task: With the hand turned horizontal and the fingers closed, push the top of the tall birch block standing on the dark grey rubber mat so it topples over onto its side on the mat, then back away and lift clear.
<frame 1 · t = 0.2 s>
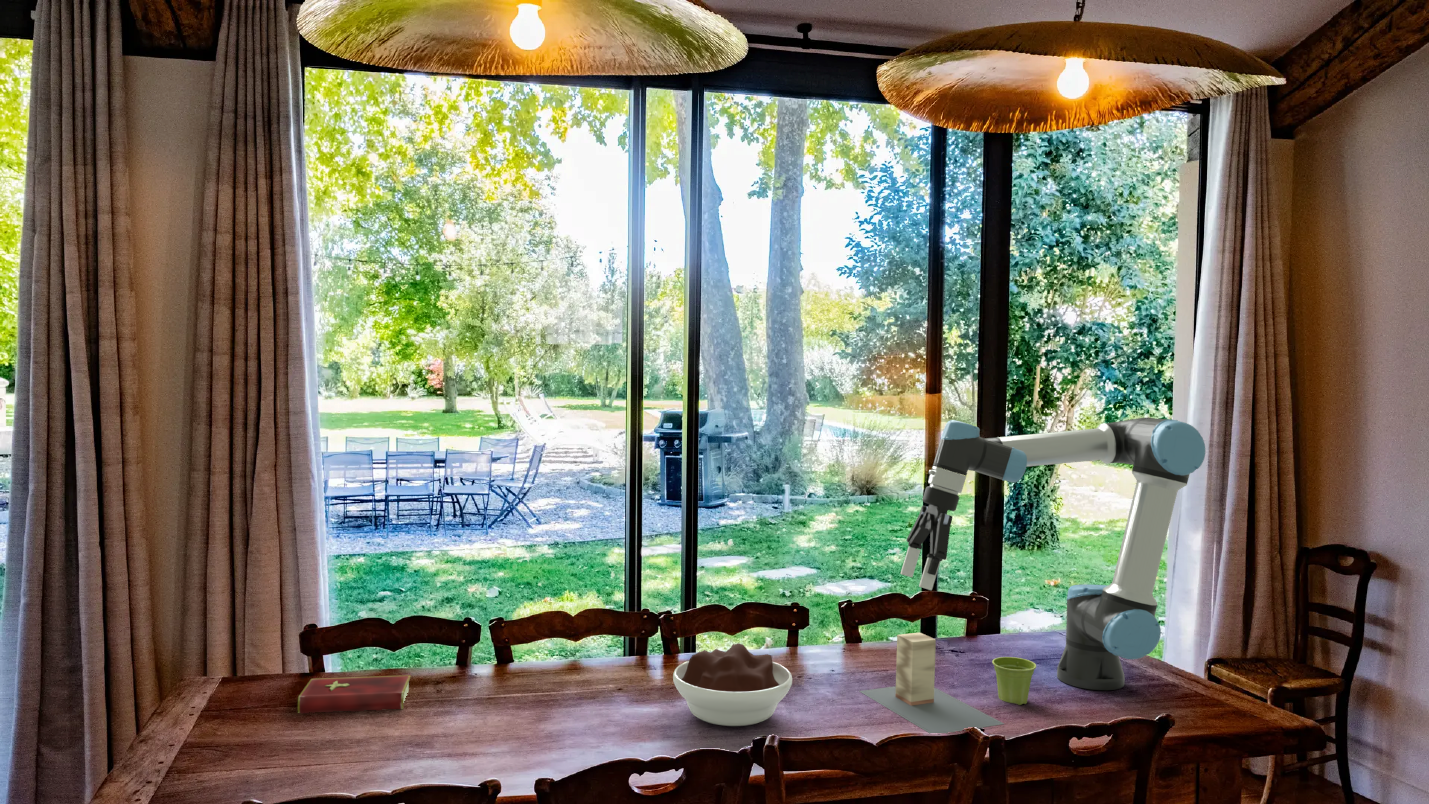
hand: (915, 582, 215), 27 cm above the table, tool tilted 15°, fingers open, 13 cm apart
chocolate pudding bowl: (731, 718, 205), on the table
plant pot: (1012, 702, 219), on the table
hardcover book: (356, 704, 210), on the table
rubber mat: (928, 709, 212), on the table
birch block: (914, 699, 217), point 1 cm above the table, touching rubber mat
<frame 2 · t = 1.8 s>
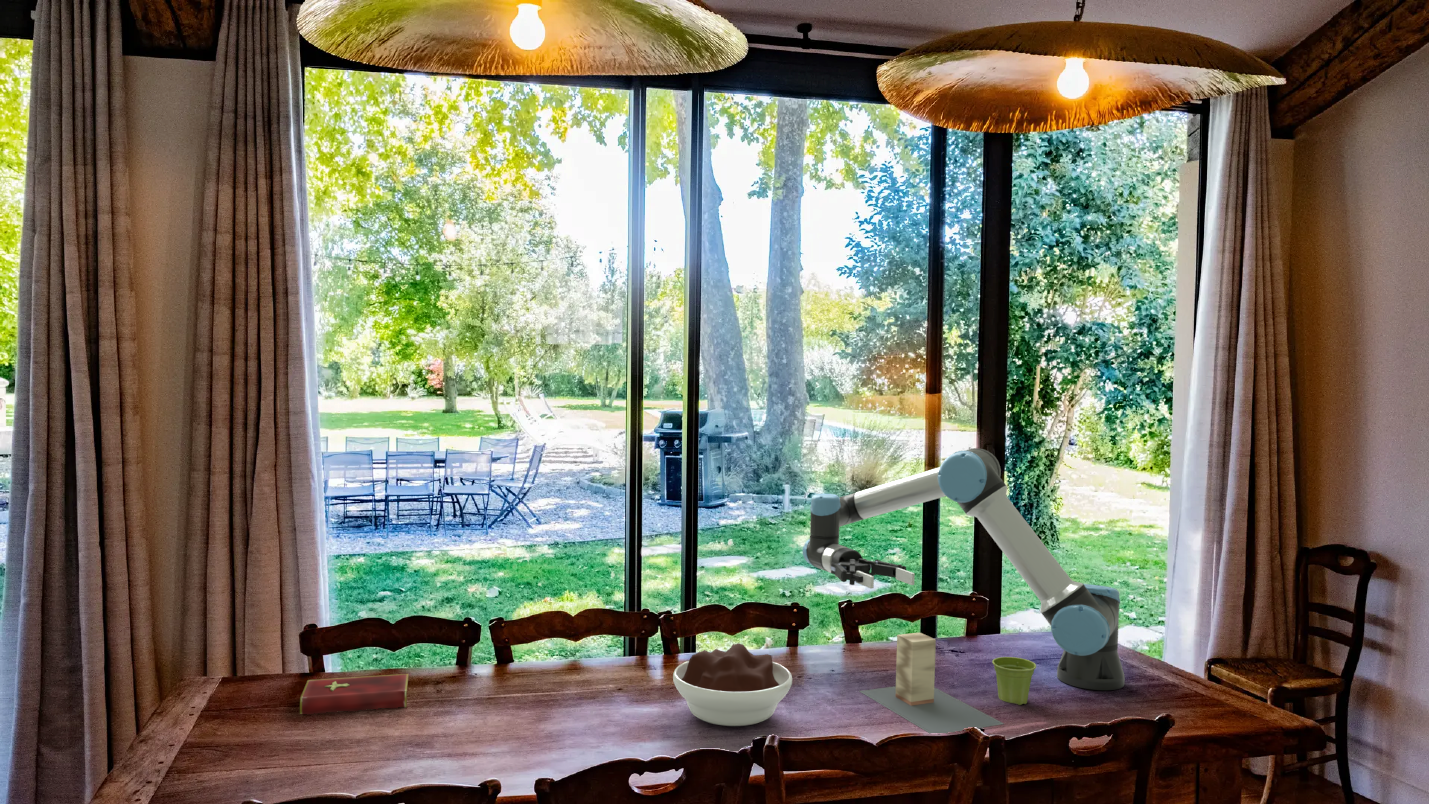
hand: (892, 580, 225), 25 cm above the table, tool horizontal, fingers open, 10 cm apart
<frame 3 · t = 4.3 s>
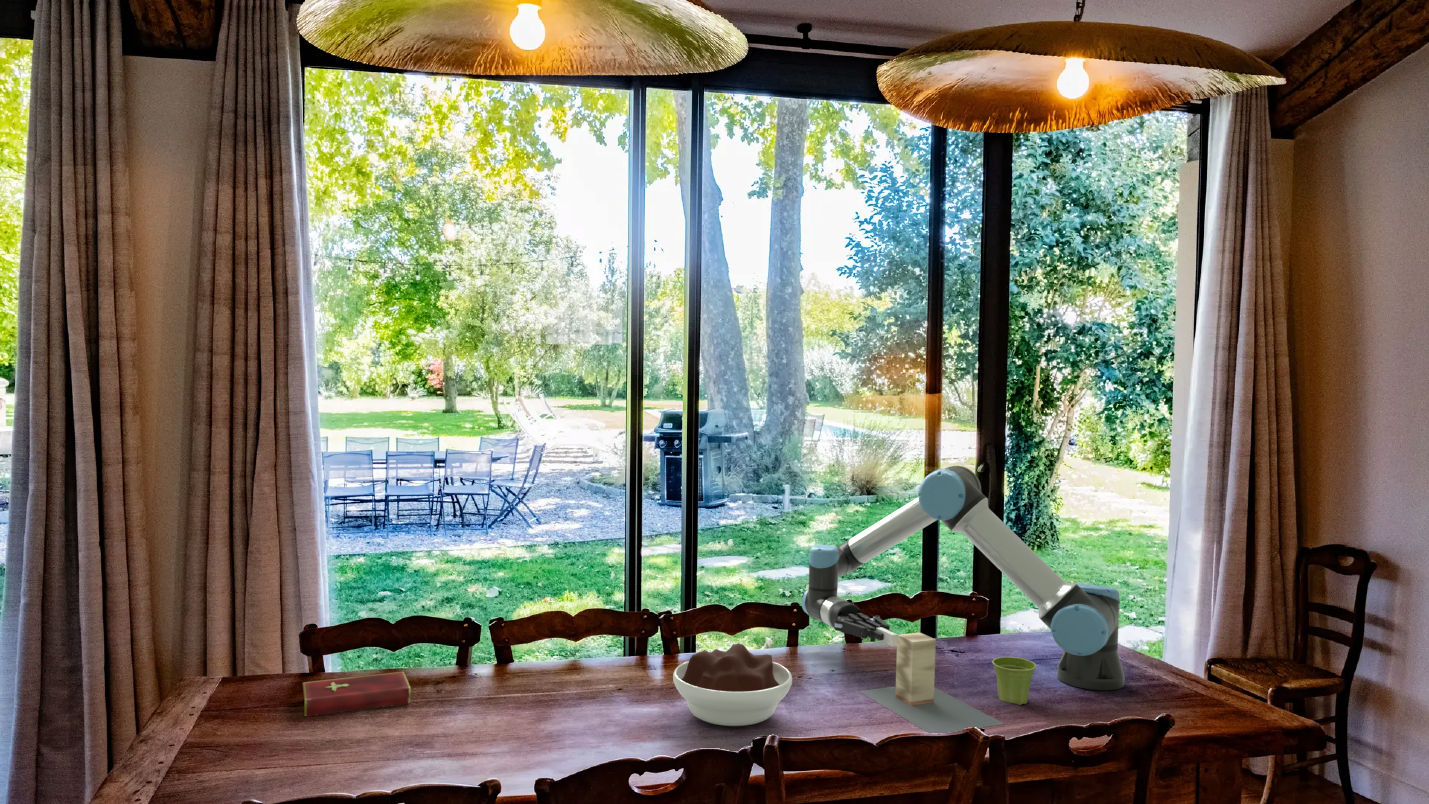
hand: (894, 640, 224), 12 cm above the table, tool horizontal, fingers closed
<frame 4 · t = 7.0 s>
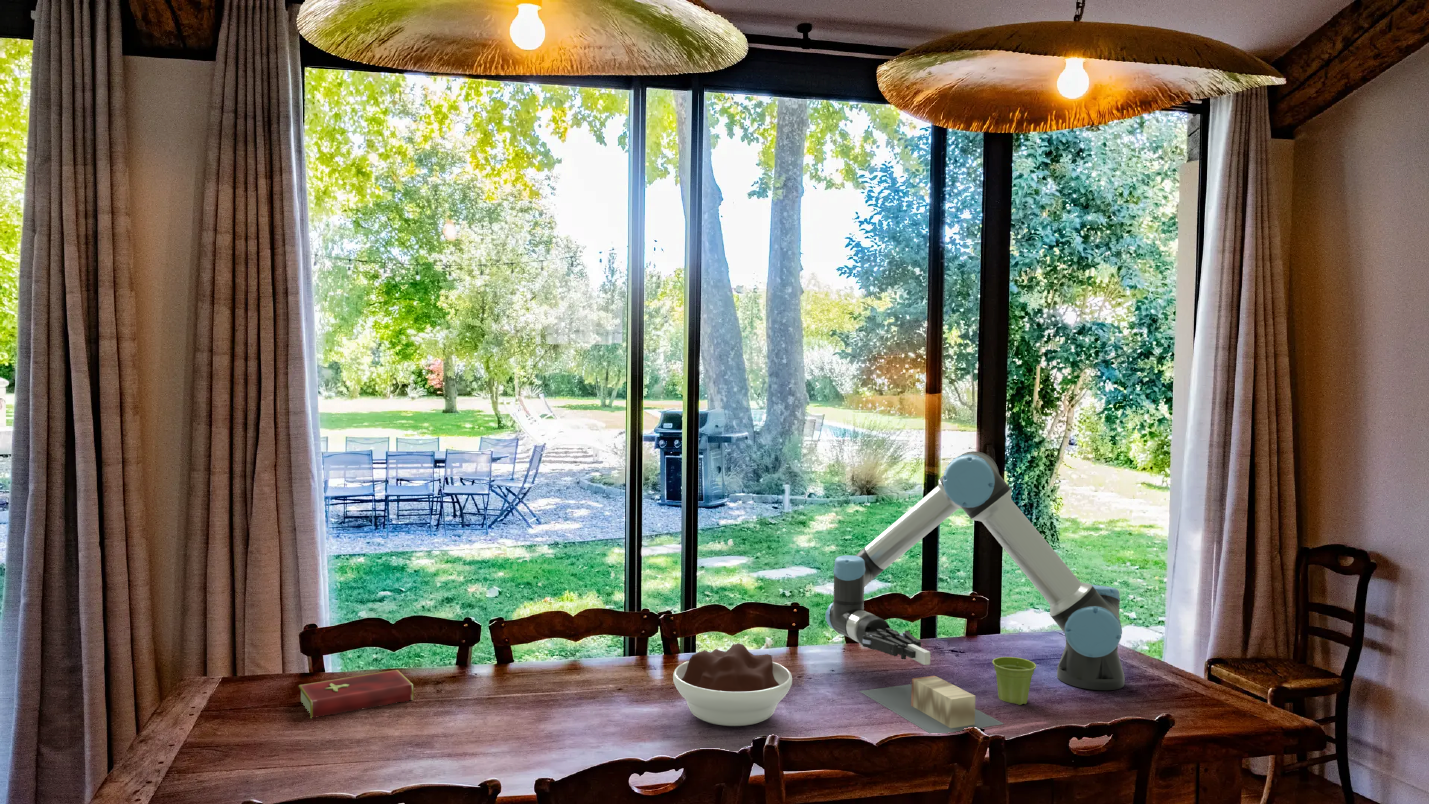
hand: (927, 658, 211), 11 cm above the table, tool horizontal, fingers closed
birch block: (922, 690, 214), point 4 cm above the table, tilted 90°, touching rubber mat
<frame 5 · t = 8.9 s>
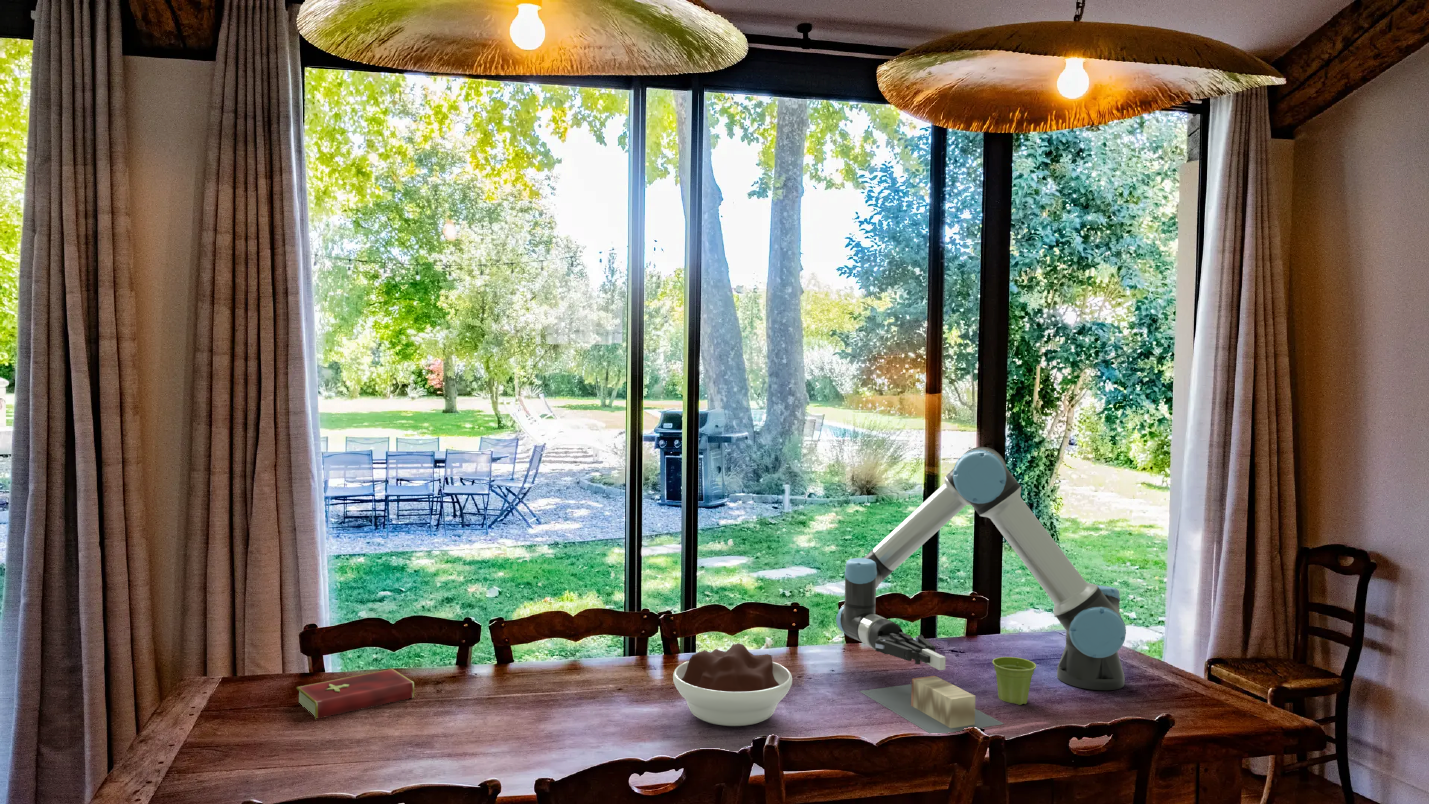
hand: (942, 663, 207), 11 cm above the table, tool horizontal, fingers closed
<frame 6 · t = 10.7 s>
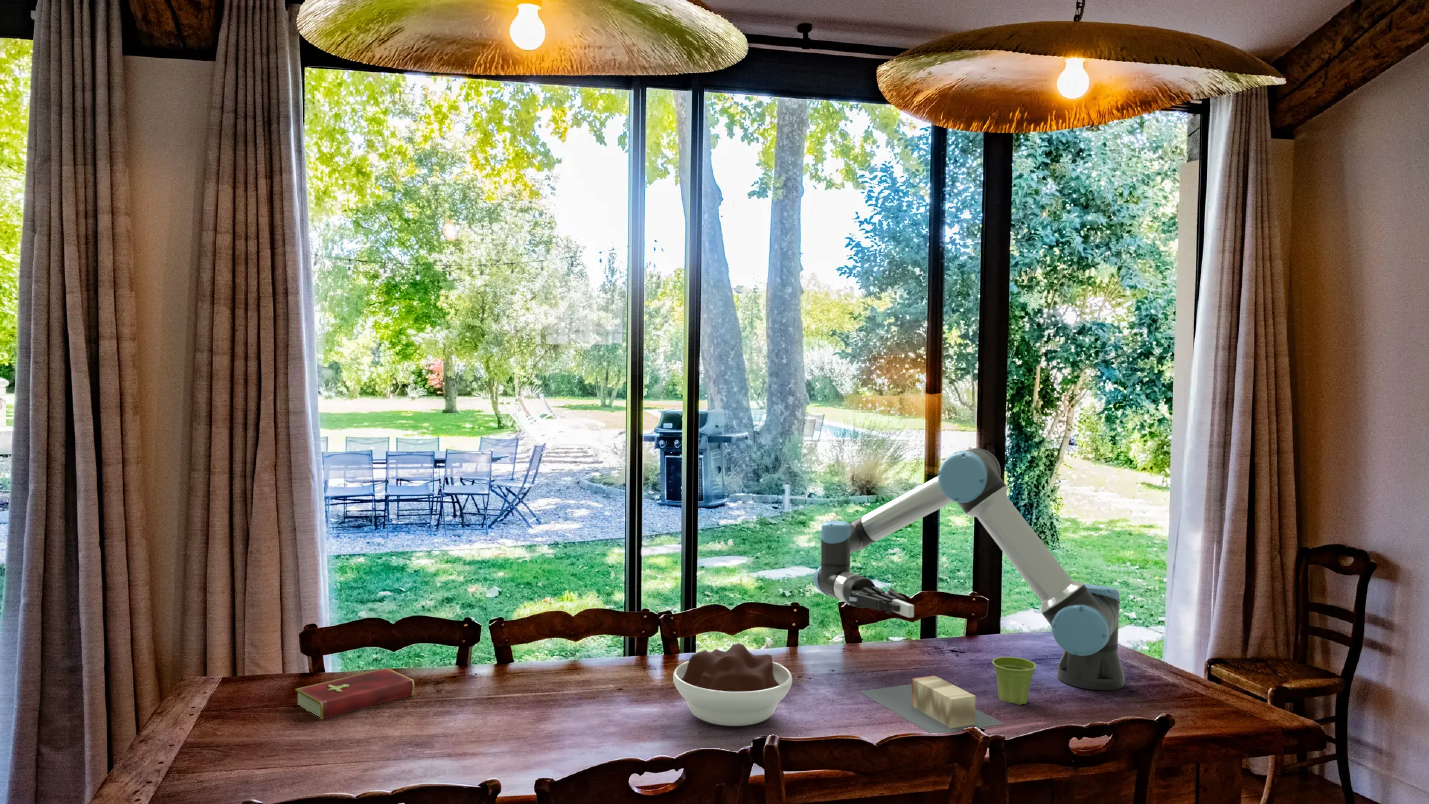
hand: (911, 611, 222), 19 cm above the table, tool horizontal, fingers closed
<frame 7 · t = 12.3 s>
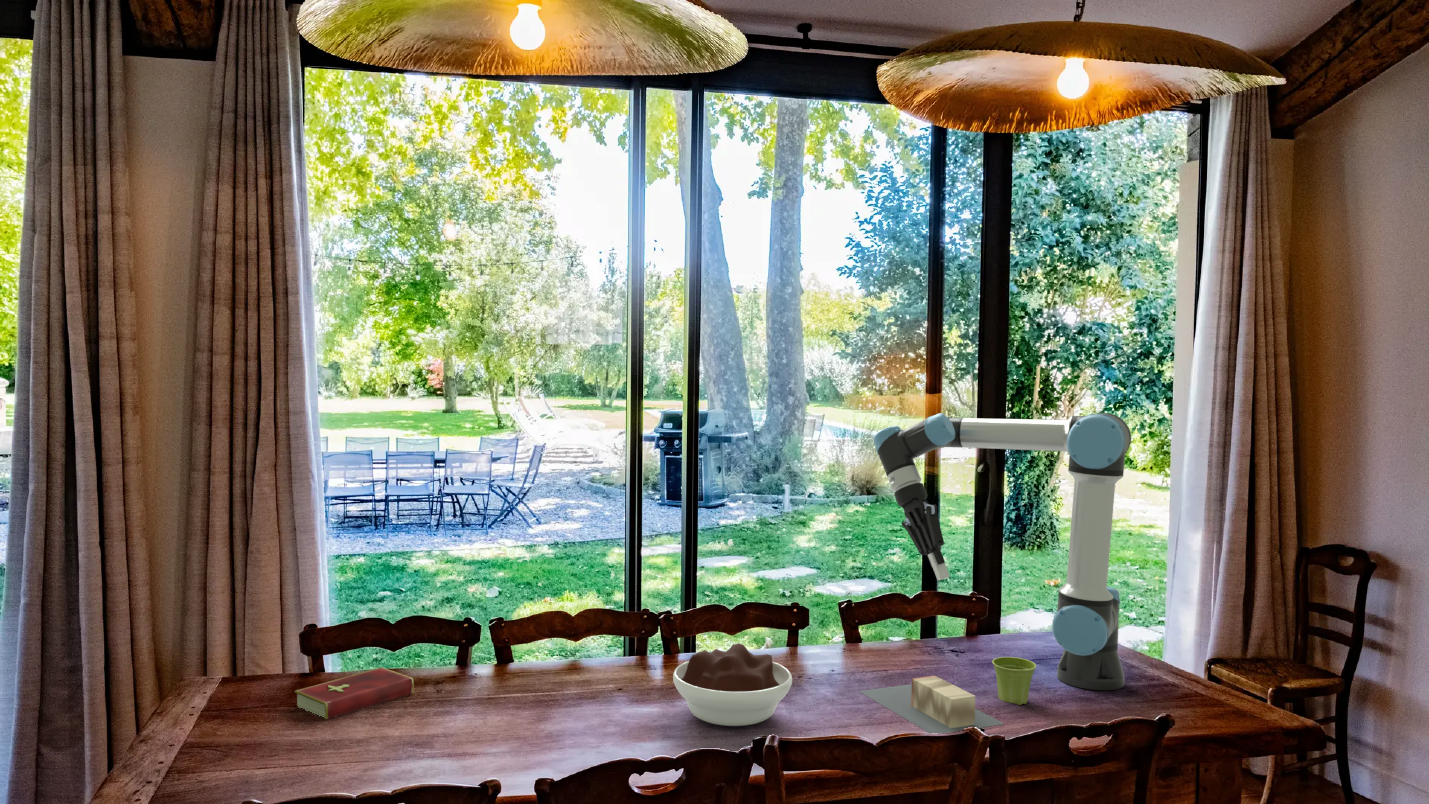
hand: (943, 578, 233), 24 cm above the table, tool tilted 30°, fingers closed
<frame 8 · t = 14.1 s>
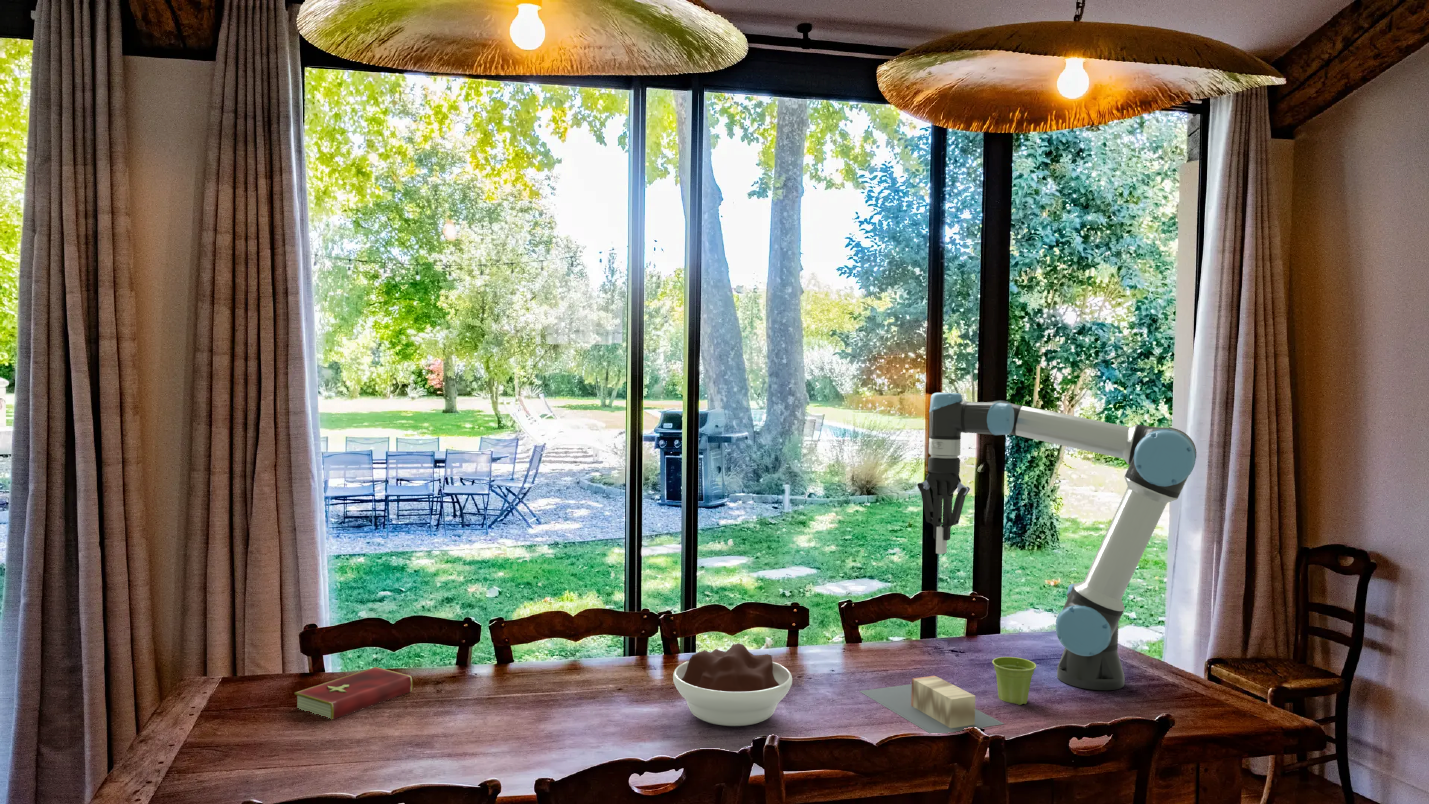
hand: (941, 553, 237), 29 cm above the table, tool pointing down, fingers closed
at the end: birch block tilted 90°; birch block inside the target area (0.7 cm from its centre), point 3.6 cm above the table; the gripper is holding nothing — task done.
